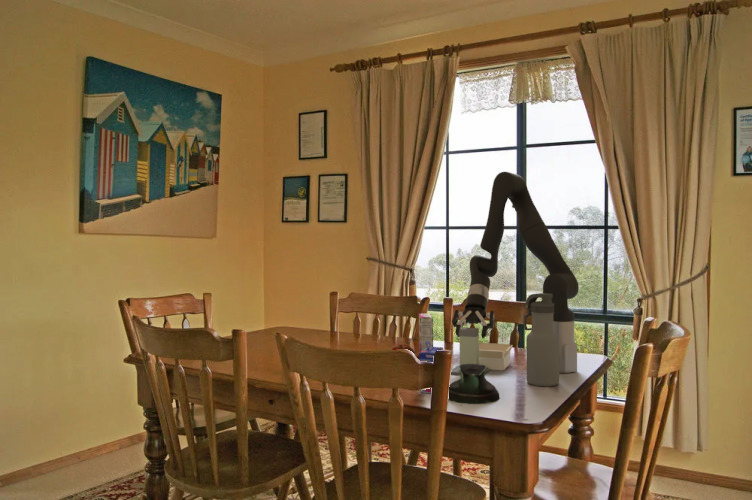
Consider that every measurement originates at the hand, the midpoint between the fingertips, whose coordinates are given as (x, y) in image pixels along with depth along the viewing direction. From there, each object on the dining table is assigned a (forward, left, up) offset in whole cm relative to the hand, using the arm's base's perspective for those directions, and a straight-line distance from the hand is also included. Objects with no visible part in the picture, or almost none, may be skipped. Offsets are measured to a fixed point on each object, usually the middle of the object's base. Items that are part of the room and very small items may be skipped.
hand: (470, 336), depth 208 cm
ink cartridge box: (-13, +26, -12) cm, 32 cm away
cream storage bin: (+3, -12, -12) cm, 17 cm away
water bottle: (-26, -7, -12) cm, 29 cm away
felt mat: (-1, +1, -12) cm, 12 cm away
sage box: (-1, +1, -11) cm, 11 cm away
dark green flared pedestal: (-25, +22, -13) cm, 36 cm away
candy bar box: (+27, -2, -12) cm, 30 cm away
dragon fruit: (+21, +14, -12) cm, 28 cm away
